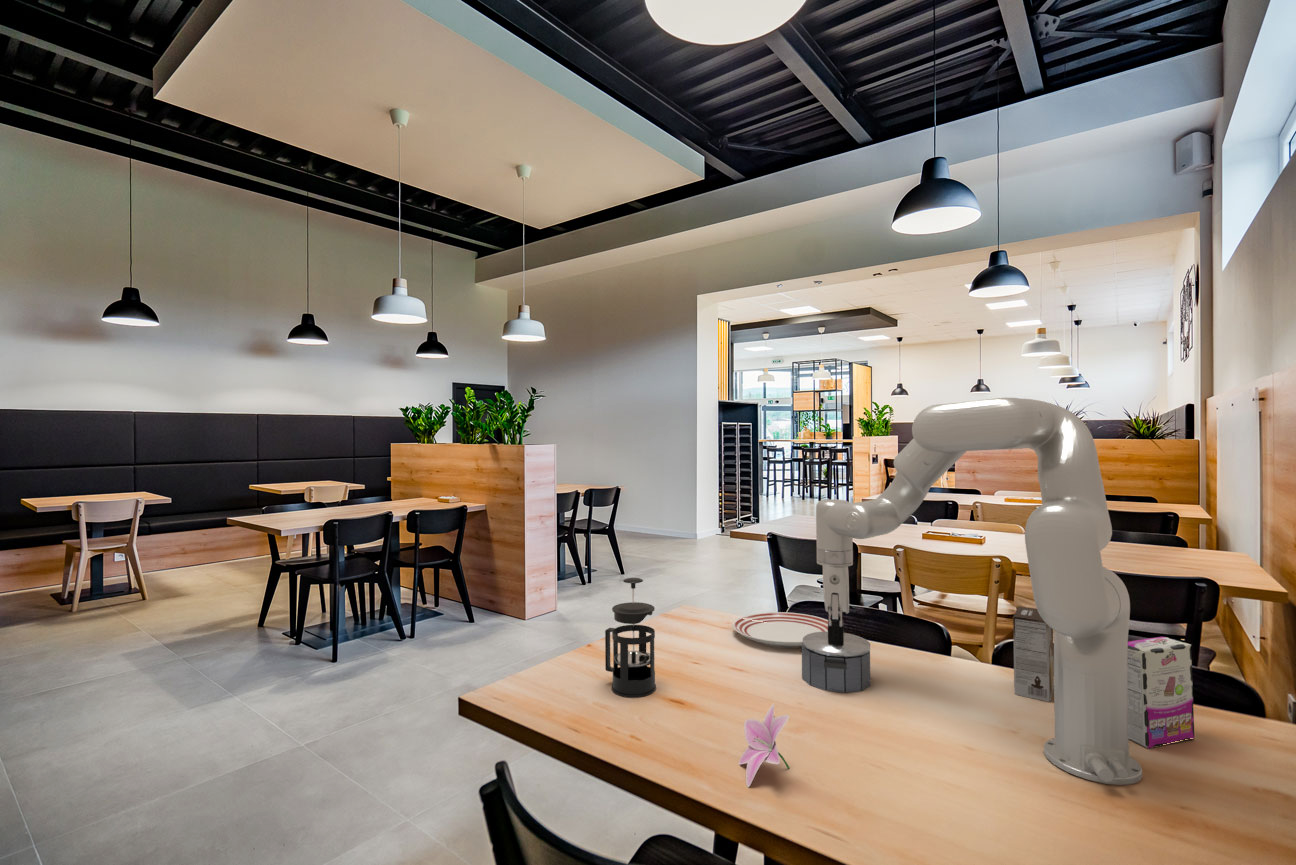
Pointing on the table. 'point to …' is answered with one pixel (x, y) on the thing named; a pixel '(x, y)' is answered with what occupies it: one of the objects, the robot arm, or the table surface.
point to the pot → (836, 671)
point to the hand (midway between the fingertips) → (835, 640)
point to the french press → (631, 661)
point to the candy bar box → (1159, 691)
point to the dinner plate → (779, 628)
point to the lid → (849, 649)
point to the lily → (762, 742)
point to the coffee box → (1032, 655)
